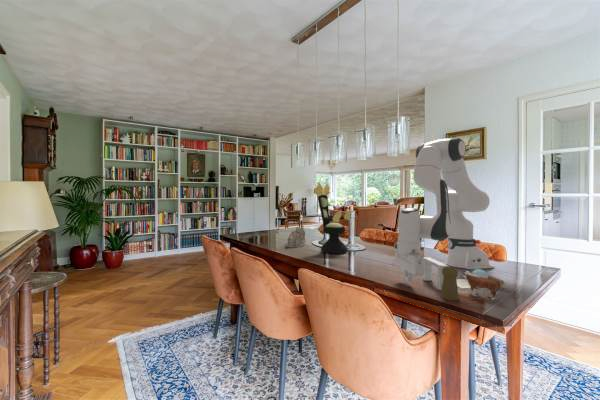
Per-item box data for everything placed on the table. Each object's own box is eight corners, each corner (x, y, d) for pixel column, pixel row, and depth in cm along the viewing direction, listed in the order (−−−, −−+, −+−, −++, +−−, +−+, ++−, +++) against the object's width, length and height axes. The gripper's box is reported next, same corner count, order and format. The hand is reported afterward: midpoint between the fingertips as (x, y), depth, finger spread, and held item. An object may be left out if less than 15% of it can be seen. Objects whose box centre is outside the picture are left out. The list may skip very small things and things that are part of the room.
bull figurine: (464, 289, 121) (465, 269, 120) (501, 299, 109) (502, 277, 109) (458, 291, 118) (458, 270, 118) (495, 302, 107) (496, 279, 107)
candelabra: (341, 256, 181) (341, 180, 180) (308, 252, 192) (308, 180, 191) (352, 250, 198) (352, 181, 196) (321, 247, 209) (321, 181, 207)
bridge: (429, 279, 135) (429, 257, 134) (447, 290, 120) (448, 265, 120) (422, 279, 135) (422, 257, 134) (440, 290, 120) (440, 265, 119)
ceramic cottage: (297, 242, 230) (297, 222, 228) (310, 246, 216) (309, 225, 215) (279, 245, 222) (278, 225, 220) (291, 250, 208) (290, 228, 206)
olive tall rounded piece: (437, 294, 115) (437, 265, 115) (452, 294, 115) (453, 265, 115) (446, 300, 109) (446, 269, 109) (462, 299, 109) (463, 269, 109)
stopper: (481, 278, 136) (481, 271, 136) (504, 288, 122) (504, 281, 122) (476, 278, 136) (477, 271, 136) (499, 288, 122) (499, 281, 122)
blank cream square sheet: (471, 279, 134) (471, 278, 134) (490, 288, 122) (490, 287, 122) (445, 279, 134) (445, 279, 134) (461, 288, 122) (461, 288, 122)
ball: (484, 273, 132) (473, 264, 131) (494, 276, 126) (483, 268, 125) (476, 284, 131) (465, 276, 131) (485, 288, 125) (474, 280, 125)
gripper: (428, 252, 116) (428, 288, 116) (406, 243, 136) (406, 274, 137) (412, 252, 115) (411, 289, 116) (392, 243, 136) (392, 274, 136)
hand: (408, 280), depth 127 cm, fingers closed
